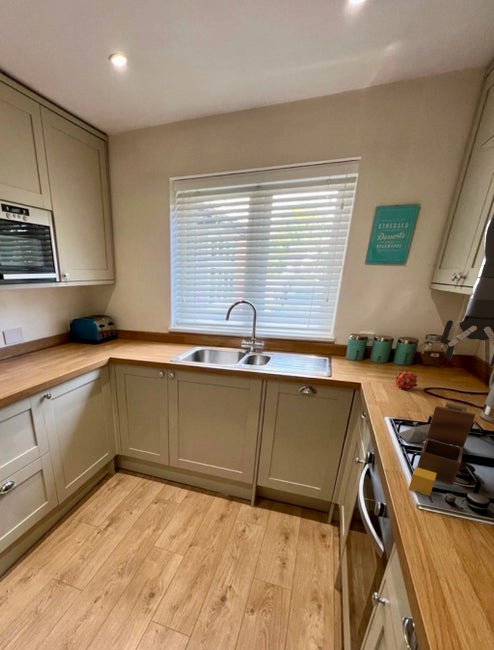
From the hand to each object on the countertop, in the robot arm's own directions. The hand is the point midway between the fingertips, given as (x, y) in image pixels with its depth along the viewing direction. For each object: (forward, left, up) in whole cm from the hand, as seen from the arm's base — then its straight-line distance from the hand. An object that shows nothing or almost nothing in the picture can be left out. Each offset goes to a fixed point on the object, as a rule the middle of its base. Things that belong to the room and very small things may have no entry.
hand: (469, 362), depth 85 cm
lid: (+3, +4, -17) cm, 17 cm away
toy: (+15, +14, -29) cm, 35 cm away
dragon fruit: (-31, -64, -29) cm, 77 cm away
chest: (+5, +6, -29) cm, 30 cm away
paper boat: (-2, -12, -29) cm, 32 cm away
